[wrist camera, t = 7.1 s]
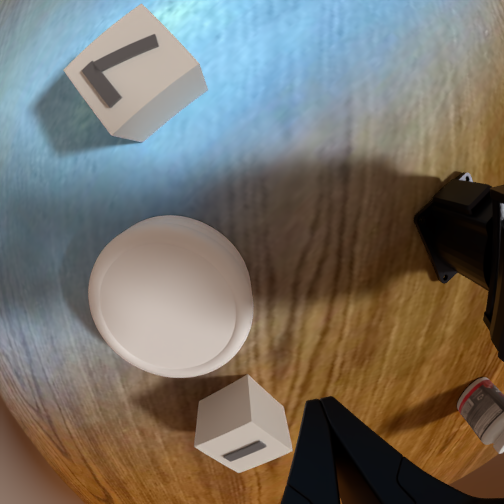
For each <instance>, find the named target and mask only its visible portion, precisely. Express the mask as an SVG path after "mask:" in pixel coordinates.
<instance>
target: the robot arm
mask: <svg viewBox="0 0 504 504" xmlns="http://www.w3.org/2000/svg"><path fill="white" fill-rule="evenodd" d="M465 178H466V180H465ZM421 217H422V221H421V222H420V218H421ZM414 223H415V225H416V227H417V230H418V232H419V234H420V236H421V238H422V241H423V243H424V245H425V247H426V250H427V252H428V255H429V257H430V259H431V262H432V264H433V267H434V269H435V272H436V274H437V277H438V280H439V281H440V282H442V283H447V282H448V281H449V280H450V279H451V278H452V277H453V276H454V275H455V274H456V273H457V272H458V273H459V274H461V275H463V276H465V277H466V278H468V279H470V280H471V281H473V282H475V283H476V284H478V285H480V286H481V287H483V288H484V289H486V290H488V291H489V292H488V299H487V307H486V311H485V312H484V318H483V321H484V322H485V324H486V326H487V327H488V329H489V331H490V335H491V340H492V342H493V344H494V345H495V347H496V349H497V350H498V351H499V352H498V357H499V358H500V359H501V360H502V361H503V362H504V185H501V186H497V187H492V186H490V185H487V184H481V183H476V182H473V180H472V178H471V175H470V174H469V173H464V172H463V173H462V174H461V175H459V176H458V177H457V178H456V179H453V180H451V181H450V182H449V183H448V184H447V185H446V186H445V187H444V188H443V189H441V190H440V191H439V192H438V193H437V194H436V195H435V196H434V197H433V199H432V201H430V202H429V203H428V204H427V205H426V206H425V207H424V208H422V209H421V210H420V211H419V212H418V213H417V214H416V215H415V217H414ZM444 276H445V277H444ZM340 498H341V501H342V504H504V498H489V499H488V498H477V497H472V496H470V495H467V494H465V493H462V492H461V491H459V490H457V489H455V488H453V487H451V486H449V485H447V484H445V483H444V482H442V481H440V480H438V479H436V478H435V477H433V476H431V475H430V474H428V473H426V472H425V471H423V470H422V469H420V468H419V467H417V466H416V465H415V464H413V463H412V462H411V461H409V460H408V459H407V458H406V457H403V455H402V454H401V453H399V452H398V451H397V450H396V449H394V448H393V447H392V446H391V445H389V444H388V443H387V442H386V441H384V440H383V439H382V438H381V437H380V436H378V435H377V434H376V433H375V432H374V431H372V430H371V429H370V428H369V427H368V426H366V425H365V424H364V423H363V422H362V421H361V420H359V419H358V418H357V417H356V416H355V415H354V414H352V413H351V412H350V411H349V410H348V409H347V408H345V407H344V406H343V405H342V404H341V403H340V402H339V401H337V400H336V399H335V398H334V397H332V396H329V397H324V398H320V400H319V399H313V400H308V401H306V403H305V408H304V413H303V418H302V422H301V427H300V432H299V436H298V440H297V445H296V449H295V453H294V457H293V461H292V465H291V469H290V473H289V477H288V481H287V486H286V487H285V491H284V495H283V498H282V501H281V504H340Z"/></svg>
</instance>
